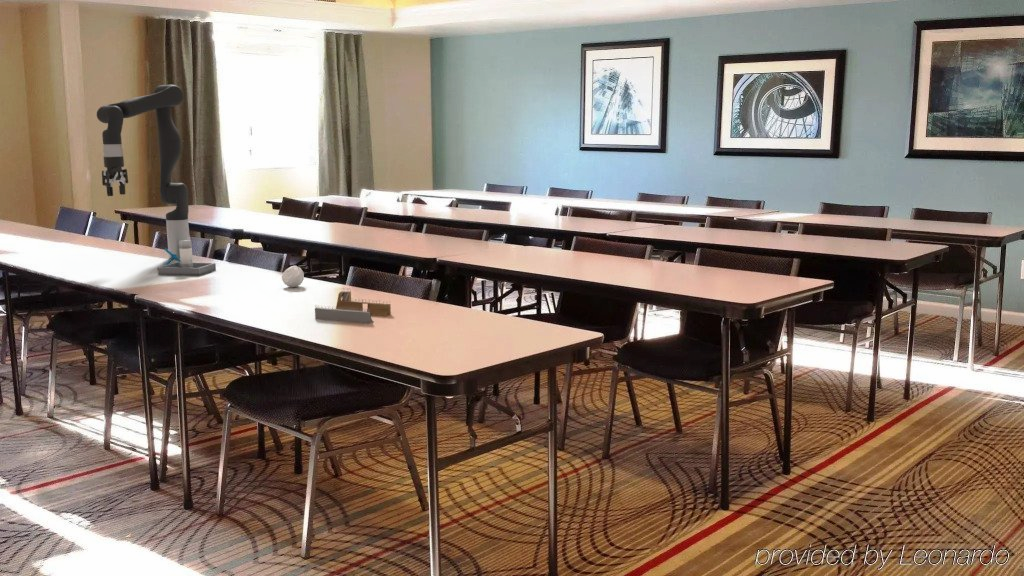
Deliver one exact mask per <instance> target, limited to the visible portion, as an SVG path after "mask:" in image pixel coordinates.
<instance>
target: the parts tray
mask: <svg viewBox="0 0 1024 576" xmlns="http://www.w3.org/2000/svg"><path fill="white" fill-rule="evenodd" d="M216 264H217V263H216V262H193V268H181V263H180V262H178V261H175V262H171V263H170V264H168V265H165V264H164V265H161V266H158V267H157V275H158V276H184V277H185V276H190V277H191V276H192V277H193V276H195V277H196V276H197V277H200V276H203V275H206V274H210V273H212V272H215V271H217V268H216V267H217V265H216Z"/></svg>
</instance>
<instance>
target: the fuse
mask: <svg viewBox="0 0 1024 576" xmlns="http://www.w3.org/2000/svg"><path fill="white" fill-rule="evenodd" d="M192 247H193V246H192V240H191V239H190V240H181V241H179V249H180V259H179V260H180V263H181V268H193V263H194V262H193V250H192V249H193V248H192Z"/></svg>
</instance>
